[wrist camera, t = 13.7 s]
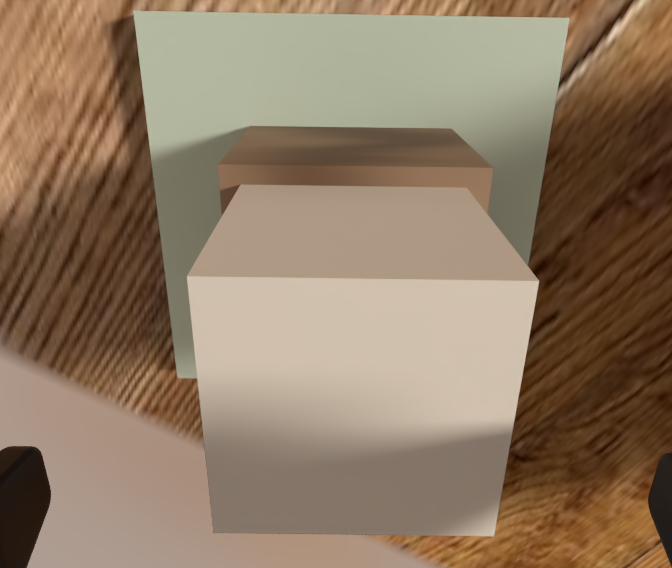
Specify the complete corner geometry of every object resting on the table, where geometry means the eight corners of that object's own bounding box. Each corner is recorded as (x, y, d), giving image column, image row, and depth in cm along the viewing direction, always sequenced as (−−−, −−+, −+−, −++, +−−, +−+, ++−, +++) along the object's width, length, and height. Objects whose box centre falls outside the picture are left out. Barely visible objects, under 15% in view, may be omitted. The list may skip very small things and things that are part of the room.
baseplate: (556, 18, 17) (569, 17, 16) (501, 367, 22) (508, 382, 21) (144, 11, 17) (133, 10, 16) (184, 363, 22) (177, 378, 21)
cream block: (466, 187, 13) (539, 281, 8) (445, 377, 15) (494, 536, 10) (240, 184, 13) (186, 276, 8) (251, 374, 15) (213, 532, 10)
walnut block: (451, 128, 17) (493, 167, 12) (434, 308, 20) (463, 395, 15) (249, 125, 17) (217, 164, 12) (258, 306, 20) (234, 392, 15)
